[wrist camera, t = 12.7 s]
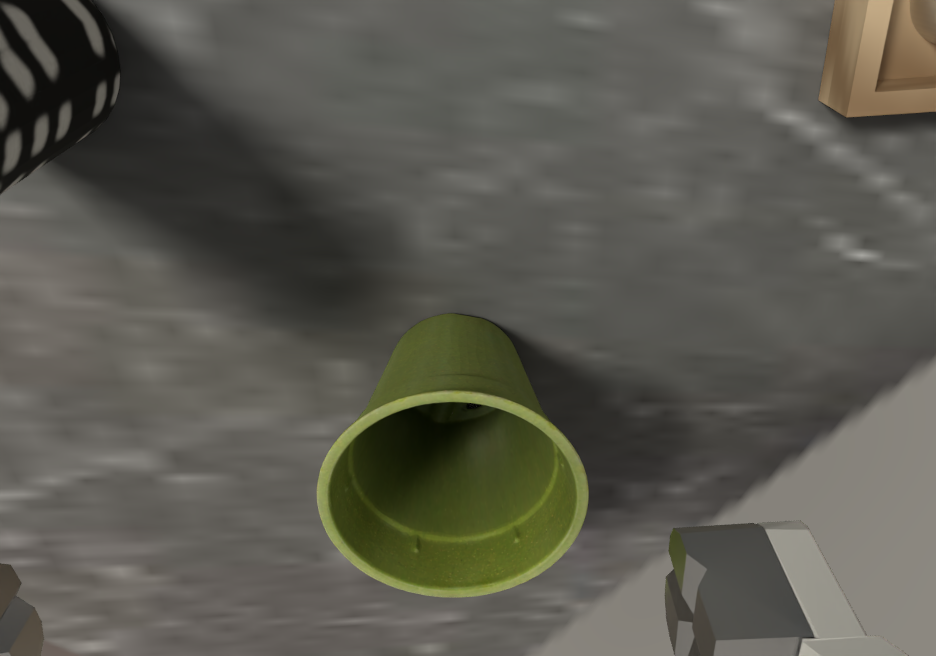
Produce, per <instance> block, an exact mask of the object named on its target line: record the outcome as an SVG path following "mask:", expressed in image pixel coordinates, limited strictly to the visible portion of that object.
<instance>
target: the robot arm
mask: <svg viewBox="0 0 936 656" xmlns="http://www.w3.org/2000/svg"><path fill="white" fill-rule="evenodd" d="M669 554H670V557H671V561H672V564H673V567H674V569H673V571H671V573H669V574H668V575H667V576H666V585H665V607H666V619H667V625H668V630H669V636H670V640H671V644H672V647H673V651H674V655H675V656H909V655H907V654H906V653H905V652H903V651H902V650H900V649H899V648H898V647H896V646H895V645H893V644H892V643H891V642H889V641H888V640H886V639H885V638H884V637H882V636H867V634H866V632H865V631H864V629H863V627H862V625H861V623H860V621H859V620H858V618H857V616H856V614H855V613H854V610H853V609H852V607H851V605H850V603H849V601H848V599H847V598H846V596H845V594H844V593H843V590H842V589H841V587H840V585H839V583H838V581H837V579H836V578H835V576H834V574H833V572H832V570H831V568H830V567H829V565H828V563H827V561H826V559H825V557H824V556H823V554H822V552H821V550H820V548H819V547H818V545H817V543H816V541H815V539H814V537H813V536H812V534H811V532H810V530H809V528H808V527H807V526H806V525H805V524H804V523H803V522H801V521H785V522H767V523H757V524H754V523H748V524H732V525H715V526H699V527H683V528H673V531H672V533H671V535H670V543H669ZM21 584H22V582H21V581H20V579H19V578H18V576H17V574H16V573H15V571H14V569H13V568H12V566H11V565H9V564H1V563H0V656H41V652H42V647H43V642H44V634H43V627H42V621H41V619H40V617H39V615H38V613H37V611H36V609H35V607H33V606H32V605H30V604H28V603H27V602H25V601H24V600H22V599H21V598H19V597H17V596H16V595H17V593H18V591H19V588H20V586H21Z"/></svg>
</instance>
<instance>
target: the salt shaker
mask: <svg viewBox="0 0 936 656" xmlns="http://www.w3.org/2000/svg"><path fill="white" fill-rule="evenodd" d="M910 16H911V20H912V23H913V25H914V28H915V29H916V31H917V32H918V33H919V34H920V35H921V36H922V37H923V38H924V39H926V40H927V41H929V42H931V43H934V44H936V0H910Z"/></svg>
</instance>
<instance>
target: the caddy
mask: <svg viewBox="0 0 936 656" xmlns="http://www.w3.org/2000/svg"><path fill="white" fill-rule="evenodd" d="M818 100H819V101H821V102H822V103H824V104H825V105H827V106H829V107H830V108H832V109H834V110H835V111H837V112H838V113H840V114H842V115H843V116H845V117H860V116H876V115H891V114H906V113H921V112H936V44H934V43H931V42H929V41H927V40H926V39H924V38H923V37H922V36H921V35H920V34H919V33H918V32H917V31H916V29H915V28H914V25H913V23H912V20H911V16H910V0H835V4H834V10H833V16H832V22H831V28H830V34H829V40H828V46H827V51H826V57H825V63H824V69H823V75H822V81H821V87H820V93H819V99H818Z"/></svg>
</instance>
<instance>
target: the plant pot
mask: <svg viewBox="0 0 936 656" xmlns="http://www.w3.org/2000/svg"><path fill="white" fill-rule="evenodd" d="M469 403H475V404H481V406H479V407H476V408H473V409H468V408H467V405H468V404H469ZM452 412H453V414H452ZM588 497H589V490H588V481H587V476H586V472H585V469H584V466H583V464H582V462H581V459H580V457H579V455H578V454H577V452H576V450H575V448H574V447H573V445H572V444H571V443H570V441H569V440H568V439H567V438H566V436H565V435H564V434H563V433H562V432H561V431H560V430H559V429H558V428H557V427H556V426H555V425H553V424H552V423H551V422H550V420H549V419H548V417H547V416H546V415H545V414H544V412H543V411H542V409H541V406H540V404H539V402H538V400H537V397H536V395H535V393H534V391H533V388H532V386H531V384H530V382H529V379H528V377H527V375H526V372H525V370H524V368H523V365H522V363H521V361H520V358H519V356H518V354H517V352H516V350H515V347H514V345H513V343H512V342H511V340H510V339H509V338H508V336H507V335H506V334H505V333H504V332H503V331H502V330H501V329H499V328H498V327H497V326H495V325H494V324H492V323H491V322H489V321H487V320H485V319H482V318H476V317H470V316H465V315H459V314H453V313H450V314H442V315H438V316H434V317H430V318H428V319H425V320H423V321H421V322H419V323H418V324H416V325H415V326H413V327H412V328H411V329H409V330H408V331H407V332H406V333H405V334H404V335H403V337H402V338H401V339H400V341H399V342H398V344H397V346H396V347H395V349H394V351H393V353H392V356H391V358H390V360H389V362H388V364H387V366H386V368H385V370H384V373H383V375H382V377H381V379H380V381H379V383H378V385H377V387H376V389H375V391H374V393H373V395H372V397H371V399H370V401H369V404H368V406H367V408H366V409H365V410H364V411H363V412H362V414H361V415H360V416H359V418H358V419H357V421H355V422H354V423H353V424H352V425H350V426H349V427H348V428H347V429H346V430H345V431H344V432H343V433H342V434H341V435H340V437H339V438H338V439H337V440H336V442H335V443H334V444H333V446H332V447H331V449H330V451H329V452H328V454H327V456H326V458H325V460H324V462H323V465H322V467H321V470H320V474H319V478H318V484H317V504H318V510H319V513H320V517H321V520H322V523H323V525H324V528H325V530H326V532H327V534H328V536H329V537H330V539H331V540H332V542H333V543H334V545H335V546H336V547H337V548H338V550H339V551H340V552H341V553H342V554H343V555H344V556H345V557H346V559H348V560H349V561H350V562H351V563H352V564H353V565H355V566H356V567H357V568H358V569H360V570H361V571H363V572H364V573H366V574H367V575H369V576H371V577H372V578H374V579H376V580H378V581H380V582H383V583H385V584H387V585H390V586H392V587H395V588H398V589H401V590H405V591H408V592H413V593H417V594H422V595H428V596H436V597H471V596H480V595H486V594H491V593H495V592H499V591H502V590H506V589H509V588H512V587H514V586H516V585H519V584H521V583H524V582H526V581H528V580H530V579H532V578H534V577H536V576H538V575H539V574H540V573H542V572H543V571H545V570H546V569H548V568H549V567H551V566H552V565H553V564H554V563H555V562H556V561H557V560H558V559H559V558H561V557H562V556H563V554H564V553H565V552H566V551H567V550H568V549H569V547H570V546H571V545H572V543H573V542H574V540H575V539H576V537H577V535H578V534H579V532H580V530H581V527H582V525H583V522H584V519H585V516H586V513H587V507H588Z"/></svg>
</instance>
